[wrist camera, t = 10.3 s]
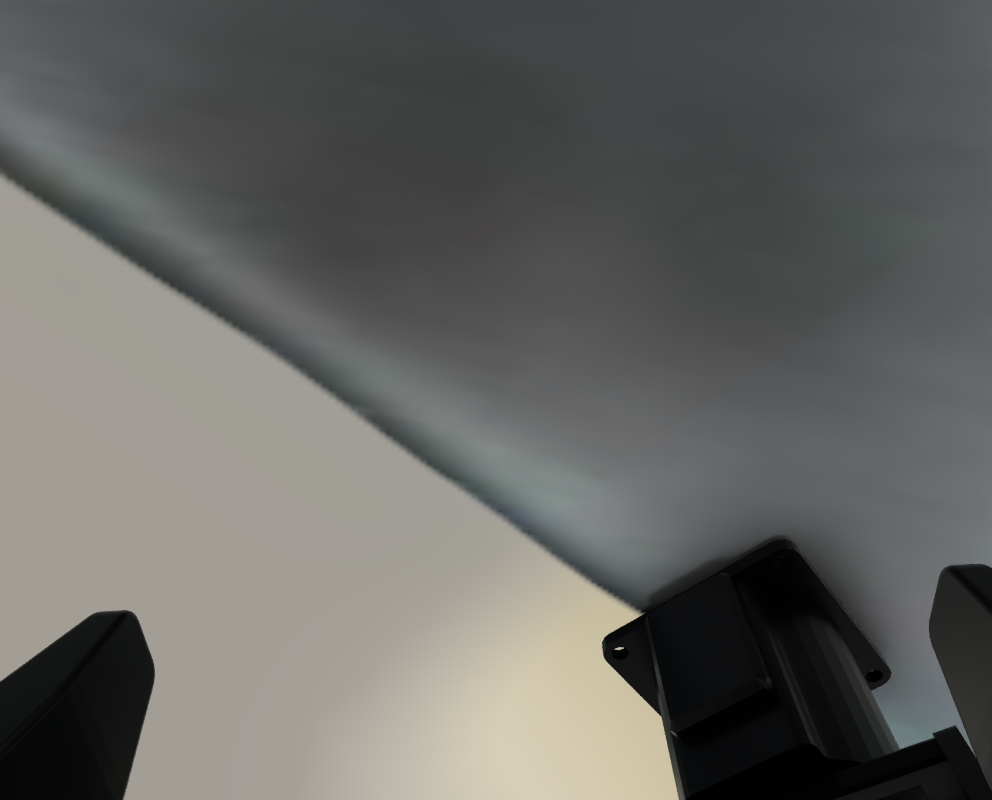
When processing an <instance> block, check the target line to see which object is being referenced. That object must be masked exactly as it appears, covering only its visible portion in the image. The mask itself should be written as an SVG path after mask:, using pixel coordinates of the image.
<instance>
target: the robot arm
mask: <svg viewBox="0 0 992 800" xmlns="http://www.w3.org/2000/svg"><path fill="white" fill-rule="evenodd" d="M781 556H788V557H786V558H785V559H784V560H781V561H776V559H778V558H779V557H781ZM929 633H930V639H931V643H932V646H933V649H934V651H935V654H936V656H937V659H938V661H939V664H940V666H941V669H942V672H943V674H944V677H945V679H946V682H947V684H948V687H949V689H950V692H951V694H952V697H953V700H954V702H955V705H956V707H957V710H958V712H959V715H960V717H961V720H962V722H963V725H964V728H965V730H966V733H967V735H968V738H969V740H970V743H971V745H972V748H973V750H974V753H975V755H976V757H975V755H974V754H973V752H972V751H971V749H970V747H969V746H968V744H967V743H966V741H965V740H964V738H963V736H962V735H961V733H960V732H959V730H958V729H957V727H956V726H953V727H950V728H947V729H944V730H941V731H938V732H935V733H933V736H934V738H932V739H929V740H926V741H923V742H920V743H917V744H914V745H911V746H909V747H906V748H903V749H900V748H899V746H898V744H897V742H896V740H895V738H894V736H893V734H892V732H891V730H890V728H889V726H888V724H887V722H886V720H885V718H884V716H883V714H882V712H881V710H880V708H879V706H878V704H877V702H876V700H875V698H874V696H873V694H872V692H871V691H872V690H874V689H876V688H878V687H880V686H882V685H883V684H885V683H886V682H887V681H888V680H889V679H890V677H891V671H890V669H889V667H888V665H887V663H886V661H885V659H884V658H883V657H882V655H881V654H880V653H879V651H878V650H877V649H876V648H875V646H874V645H873V644H872V643H871V641H870V640H869V639H868V637H867V636H866V635H865V634H864V632H863V631H862V630H861V628H860V627H859V626H858V625H857V623H856V622H855V621H854V619H853V618H852V617H851V616H850V614H849V613H848V612H847V610H846V609H845V608H844V607H843V605H842V604H841V603H840V602H839V600H838V599H837V598H836V596H835V595H834V594H833V593H832V591H831V590H830V589H829V587H828V586H827V585H826V584H825V582H824V581H823V580H822V578H821V577H820V576H819V575H818V573H817V572H816V571H815V570H814V568H813V567H812V566H811V564H810V563H809V562H808V561H807V559H806V558H805V557H804V555H803V554H802V553H801V552H800V550H799V549H798V548H797V546H796V545H795V544H793V543H792V542H791V541H788V540H776V541H774V542H771V543H769V544H767V545H766V546H764V547H762V548H760V549H759V550H757V551H755V552H753V553H751V554H750V555H748V556H746V557H744V558H743V559H741V560H739V561H737V562H736V563H734V564H732V565H730V566H728V567H727V568H725V569H723V570H721V571H720V572H718V573H716V574H714V575H712V576H711V577H709V578H707V579H705V580H704V581H702V582H700V583H698V584H697V585H695V586H693V587H691V588H689V589H688V590H686V591H684V592H682V593H681V594H679V595H677V596H675V597H674V598H672V599H670V600H668V601H666V602H665V603H663V604H661V605H659V606H658V607H656V608H654V609H652V610H651V611H649V612H647V613H645V614H643V615H642V616H640V617H638V618H637V619H635V620H633V621H631V622H630V623H628V624H626V625H624V626H622V627H620V628H619V629H617V630H615V631H614V632H612V633H610V634H608V635H607V636H606V637H605V638H604V640H603V642H602V648H603V655H604V658H605V660H606V661H607V662H608V663H609V664H610V665H611V666H612V667H613V668H614V669H615V670H616V671H617V672H618V673H619V674H620V675H621V676H622V677H623V678H624V680H625V681H627V683H628V684H629V685H630V686H632V687H633V689H635V691H636V692H637V693H638V694H639V695H640V696H641V697H642V698H643V699H644V700H645V701H647V703H648V704H649V705H650V706H651V707H652V708H653V709H654V710H655V711H656V712H657V713H658V714H659V715H660V716H661V717H662V721H663V726H664V731H665V735H666V740H667V744H668V749H669V754H670V759H671V764H672V768H673V773H674V778H675V782H676V787H677V792H678V797H679V800H992V568H991V567H989V566H987V565H983V564H966V565H951V566H948V567H945V568H944V569H943V570H942V572H941V573H940V576H939V580H938V584H937V589H936V593H935V598H934V602H933V607H932V612H931V616H930V621H929ZM618 647H624V649H621V650H614V649H615V648H618ZM873 670H874V671H873ZM870 671H871V672H870ZM154 678H155V669H154V663H153V659H152V656H151V654H150V651H149V648H148V645H147V642H146V640H145V637H144V634H143V631H142V629H141V626H140V623H139V621H138V619H137V617H136V615H135V614H134V613H133V612H131V611H127V610H121V611H103V612H97V613H94V614H92V615H90V616H89V617H87V618H86V619H85V620H83V621H82V622H81V623H79V624H78V625H77V626H75V627H74V628H72V629H71V630H70V631H68V632H67V633H66V634H64V635H63V636H62V637H60V638H59V639H58V640H56V641H55V642H53V643H52V644H51V645H49V646H48V647H47V648H45V649H44V650H42V651H41V652H40V653H38V654H37V655H36V656H34V657H33V658H32V659H30V660H29V661H28V662H26V663H25V664H24V665H22V666H21V667H19V668H18V669H17V670H15V671H14V672H12V673H11V674H10V675H8V676H7V677H6V678H4V679H3V680H2V681H0V800H123V799H124V795H125V792H126V788H127V785H128V781H129V777H130V773H131V769H132V766H133V762H134V758H135V754H136V750H137V746H138V743H139V738H140V735H141V731H142V727H143V723H144V720H145V716H146V711H147V708H148V704H149V700H150V697H151V693H152V689H153V685H154Z"/></svg>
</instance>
